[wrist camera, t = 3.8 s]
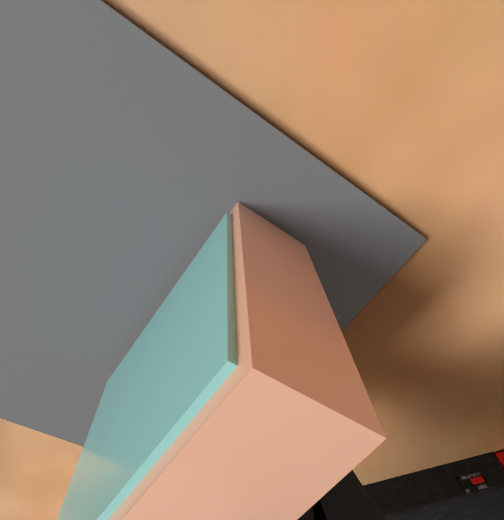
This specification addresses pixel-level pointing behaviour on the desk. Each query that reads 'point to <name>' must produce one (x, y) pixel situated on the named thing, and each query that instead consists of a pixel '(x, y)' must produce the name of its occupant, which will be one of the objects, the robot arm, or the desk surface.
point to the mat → (138, 201)
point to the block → (229, 394)
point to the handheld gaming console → (445, 491)
